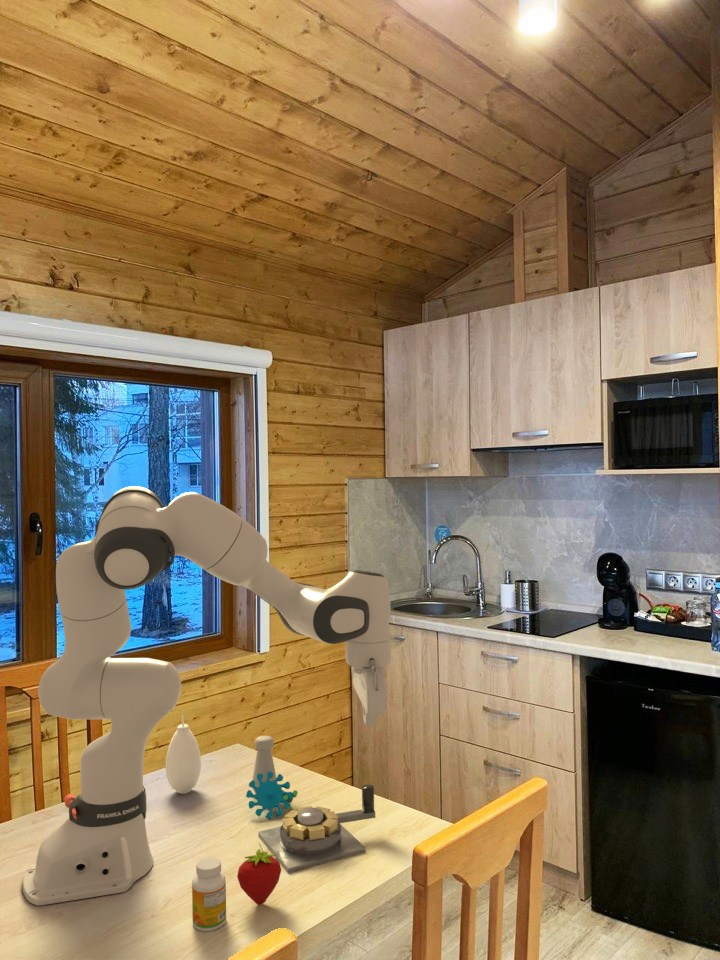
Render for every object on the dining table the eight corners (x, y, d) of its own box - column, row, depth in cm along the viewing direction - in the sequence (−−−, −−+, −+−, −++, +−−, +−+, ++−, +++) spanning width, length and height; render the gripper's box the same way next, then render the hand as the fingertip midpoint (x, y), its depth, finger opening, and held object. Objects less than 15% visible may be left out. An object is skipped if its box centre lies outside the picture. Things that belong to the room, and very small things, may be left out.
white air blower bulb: (196, 799, 169) (195, 719, 169) (161, 799, 170) (160, 719, 169) (204, 785, 177) (203, 708, 177) (172, 785, 177) (170, 708, 177)
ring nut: (382, 828, 148) (382, 796, 148) (290, 843, 142) (290, 810, 142) (365, 806, 158) (365, 776, 158) (279, 819, 152) (278, 788, 152)
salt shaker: (250, 790, 174) (249, 734, 174) (274, 787, 176) (274, 731, 175) (254, 801, 168) (253, 743, 168) (279, 797, 170) (279, 740, 170)
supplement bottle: (190, 916, 125) (189, 858, 125) (222, 909, 127) (222, 852, 126) (195, 935, 120) (194, 874, 119) (229, 927, 122) (228, 867, 121)
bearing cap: (288, 872, 138) (287, 840, 138) (258, 835, 152) (258, 806, 152) (365, 851, 145) (365, 820, 145) (330, 818, 160) (329, 789, 159)
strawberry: (233, 900, 129) (232, 842, 129) (275, 889, 132) (274, 833, 132) (243, 919, 124) (242, 858, 124) (286, 907, 127) (285, 848, 127)
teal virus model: (245, 815, 158) (248, 768, 165) (242, 826, 162) (244, 780, 169) (297, 817, 160) (298, 771, 167) (293, 828, 164) (293, 782, 171)
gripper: (394, 665, 137) (395, 741, 137) (375, 641, 157) (376, 707, 157) (359, 667, 136) (360, 744, 136) (345, 642, 156) (346, 709, 156)
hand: (369, 724), depth 147 cm, fingers closed
